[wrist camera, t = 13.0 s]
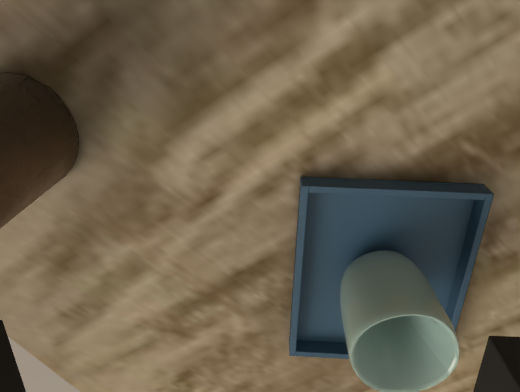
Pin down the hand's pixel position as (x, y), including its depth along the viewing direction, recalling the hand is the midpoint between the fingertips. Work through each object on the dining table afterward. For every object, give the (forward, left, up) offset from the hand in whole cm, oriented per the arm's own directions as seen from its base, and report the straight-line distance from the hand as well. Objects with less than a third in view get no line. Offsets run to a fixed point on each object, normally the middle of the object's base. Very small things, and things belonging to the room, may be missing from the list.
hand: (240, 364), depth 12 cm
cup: (-10, +14, -25) cm, 30 cm away
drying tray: (-10, +14, -25) cm, 30 cm away
